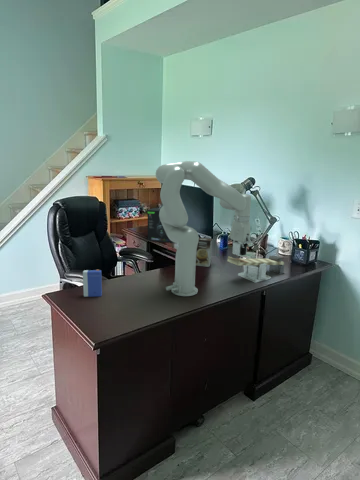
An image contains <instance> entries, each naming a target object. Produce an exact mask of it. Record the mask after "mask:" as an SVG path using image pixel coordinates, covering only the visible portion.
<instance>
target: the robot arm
mask: <svg viewBox="0 0 360 480" xmlns="http://www.w3.org/2000/svg"><path fill="white" fill-rule="evenodd" d="M155 178H156V180H157V181H158V182H159V183H160V184H162V185H161V187H160V188H161V189H160V194H159V195H160V201H161V204H162V206H160V207H161V209H160V212H159V217H160V221H161V223H162V225H163V228H164V230H165V232H166V234H167V236H168V238H169V239H170V240H171V241H172V242H174V243H173V244H177V248H176V251H175V262H174V264H175V265H174V266H175V267H174V269H175V270H174V282H172V284H171V285H168V286H165V290H166V291H170V290H171V293H172V294H173V295H176V296H179V297H192V296H195V295H197V294H198V291H199V290H198V288H197V287H196V286H195V285H196V250H197V245H198V241H199V238H200V237H199V233H198V231H197V230H196V229H194V228H193V227H191V226H188V225H187V223H188V222H189V215H188V213H187V212H188V211H187V210H186V207H185V205H184V203H183V200H182V198H181V194H180V192H181V191H180V190H181V188H182V184H183V183H184V181H185V180H186V181H191V182H192V183H194V184H195V185H196V186H197V187H199V188H200V189H201V190H202V191H203V192H205V193H206V194H207V195H209V196H212V197H215V198H217V199H219V205H220V206H221V207H222V208H223V209H226V210H230V211H234V215H233V217H234V219H233V221H232V223H231V228H230V236H229V238H230V240H231V243H232V245H233V242H242V248H241V255H242V256H246V255H247V252H246V247H247V248H248V247H249V245H251V244H252V240H251V222H250V219H251V218H250V215H251V206H252V205H251V204H252V196H251V194H248V193H246V194H245V193H241V192H239V191H238V190H237V189H236V188H235V187H233V186H231V185H230V184H228V183H227V182H225V181H223V180H221V179H219V178H218V176H216V175H215V174H214V173H212V171H210V170H209V169H208V168H207V167H206V166H205V165H203V163H201V162H199V161H194V160H193V161H191V160H189V161H188V160H185V161H179V162H172V163H165V164H161V165H160V166H158V167H157V168H156V172H155ZM244 243H245V244H244Z"/></svg>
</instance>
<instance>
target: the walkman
mask: <svg viewBox="0 0 360 480" xmlns="http://www.w3.org/2000/svg"><path fill="white" fill-rule="evenodd" d="M102 274H103V273H102V270H101V269H93V270H91V269H86V270H85V269H84V270H83V271H82V283H83V284H82V285H83V286H82V288H83V297H88V298H90V297H102V295H103V286H102V285H103V284H102V282H103V280H102V279H103V278H102Z"/></svg>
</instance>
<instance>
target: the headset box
mask: <svg viewBox="0 0 360 480" xmlns="http://www.w3.org/2000/svg"><path fill="white" fill-rule="evenodd" d="M161 207H162V206H160V207H158V208H157V207H151V208H149V209H147V242H160V243H167V244H169V243H172V244H175V243H174V242H172V241H171V240H170V239H169V238H168V236H167V234H166V232H165V230H164V228H163V225H162V223H161V221H160V217H159V212H160V209H161Z"/></svg>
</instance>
